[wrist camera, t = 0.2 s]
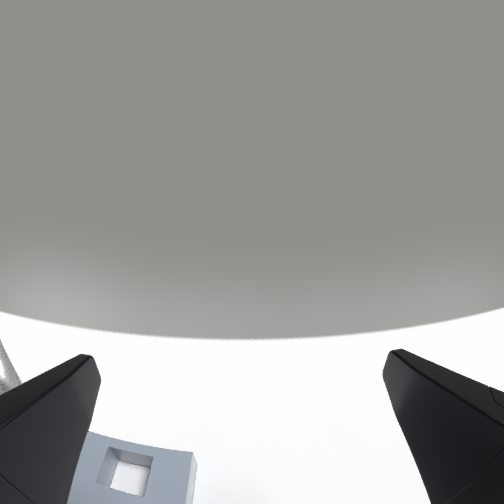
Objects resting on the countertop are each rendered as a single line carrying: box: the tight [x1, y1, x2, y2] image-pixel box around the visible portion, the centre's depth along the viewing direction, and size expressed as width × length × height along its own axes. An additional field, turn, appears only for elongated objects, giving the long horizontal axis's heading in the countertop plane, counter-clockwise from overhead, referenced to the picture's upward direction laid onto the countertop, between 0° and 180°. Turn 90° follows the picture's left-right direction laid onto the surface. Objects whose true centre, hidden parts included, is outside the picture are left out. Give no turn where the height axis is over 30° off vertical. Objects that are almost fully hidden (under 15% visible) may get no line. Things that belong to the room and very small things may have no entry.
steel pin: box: [0, 340, 22, 395], centre depth 12 cm, size 3×3×12 cm
